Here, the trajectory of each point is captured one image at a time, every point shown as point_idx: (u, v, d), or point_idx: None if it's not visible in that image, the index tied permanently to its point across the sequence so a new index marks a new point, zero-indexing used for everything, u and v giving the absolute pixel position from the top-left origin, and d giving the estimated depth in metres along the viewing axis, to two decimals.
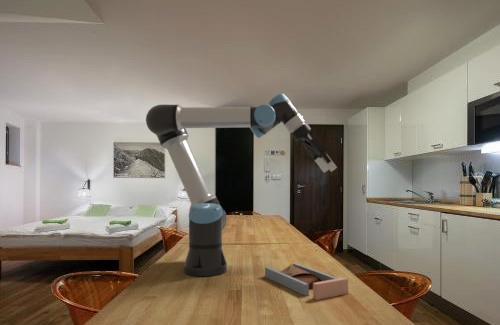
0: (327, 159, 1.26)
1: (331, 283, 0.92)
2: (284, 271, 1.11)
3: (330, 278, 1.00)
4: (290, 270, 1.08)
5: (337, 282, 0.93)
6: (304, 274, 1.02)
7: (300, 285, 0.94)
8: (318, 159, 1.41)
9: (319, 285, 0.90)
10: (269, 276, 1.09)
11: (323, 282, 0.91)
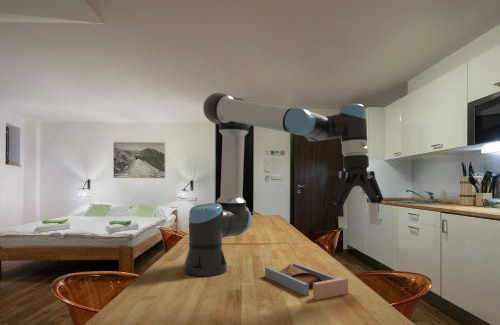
0: (338, 211, 0.97)
1: (331, 283, 0.92)
2: (283, 271, 1.10)
3: (330, 278, 1.00)
4: (289, 270, 1.08)
5: (337, 282, 0.93)
6: (304, 274, 1.03)
7: (300, 285, 0.94)
8: (372, 205, 1.04)
9: (319, 285, 0.90)
10: (269, 276, 1.09)
11: (323, 282, 0.91)
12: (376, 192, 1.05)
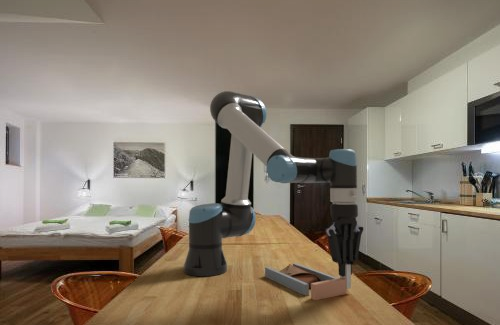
0: (340, 271, 0.94)
1: (329, 283, 0.91)
2: (283, 271, 1.11)
3: (330, 278, 1.00)
4: (289, 270, 1.08)
5: (335, 282, 0.92)
6: (303, 274, 1.03)
7: (300, 285, 0.94)
8: None
9: (317, 285, 0.89)
10: (269, 276, 1.09)
11: (321, 282, 0.91)
12: (354, 249, 0.97)
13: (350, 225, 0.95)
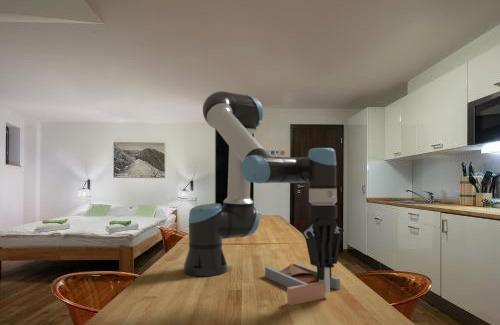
0: (318, 274, 0.91)
1: (306, 288, 0.88)
2: (284, 271, 1.11)
3: None
4: (290, 270, 1.08)
5: (313, 286, 0.89)
6: (303, 274, 1.03)
7: None
8: None
9: (293, 290, 0.86)
10: (269, 276, 1.09)
11: (298, 287, 0.87)
12: (333, 251, 0.93)
13: (329, 227, 0.92)
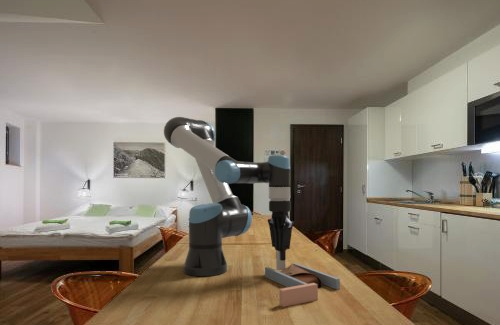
0: (283, 256, 1.13)
1: (299, 289, 0.87)
2: (285, 270, 1.11)
3: (330, 278, 1.00)
4: (290, 269, 1.08)
5: (306, 288, 0.88)
6: (304, 274, 1.03)
7: None
8: None
9: (285, 291, 0.85)
10: (269, 276, 1.09)
11: (290, 288, 0.86)
12: None
13: None
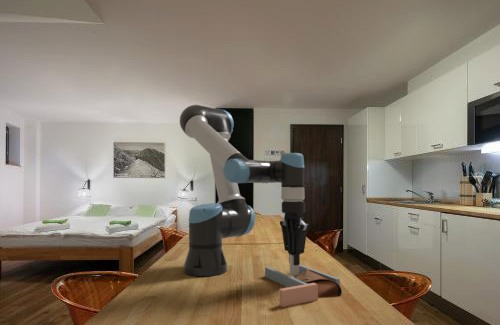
0: (297, 261, 1.06)
1: (299, 289, 0.87)
2: (300, 276, 1.04)
3: (330, 278, 1.00)
4: (306, 275, 1.01)
5: (306, 288, 0.88)
6: (321, 280, 0.96)
7: None
8: None
9: (285, 291, 0.85)
10: (269, 276, 1.09)
11: (290, 288, 0.86)
12: None
13: None
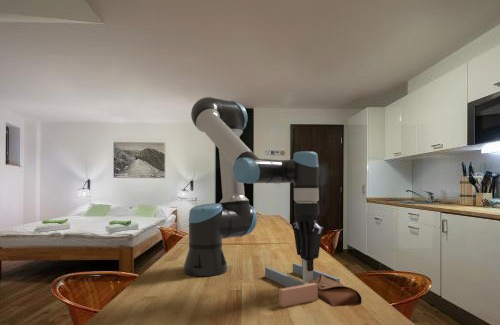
0: (311, 266, 1.00)
1: (299, 289, 0.87)
2: None
3: (330, 278, 1.00)
4: (322, 282, 0.95)
5: (306, 288, 0.88)
6: (339, 287, 0.90)
7: None
8: None
9: (285, 291, 0.85)
10: (269, 276, 1.09)
11: (290, 288, 0.86)
12: None
13: None
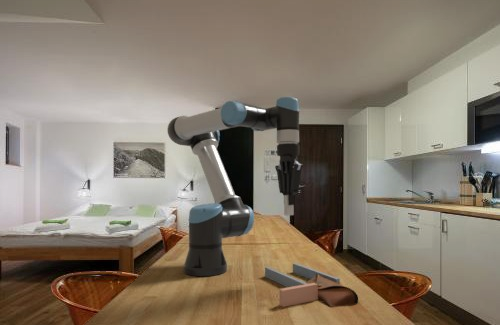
0: (292, 201, 1.10)
1: (299, 289, 0.87)
2: (310, 282, 0.98)
3: (330, 278, 1.00)
4: (318, 282, 0.95)
5: (306, 288, 0.88)
6: (336, 287, 0.90)
7: None
8: None
9: (285, 291, 0.85)
10: (269, 276, 1.09)
11: (290, 288, 0.86)
12: None
13: None
